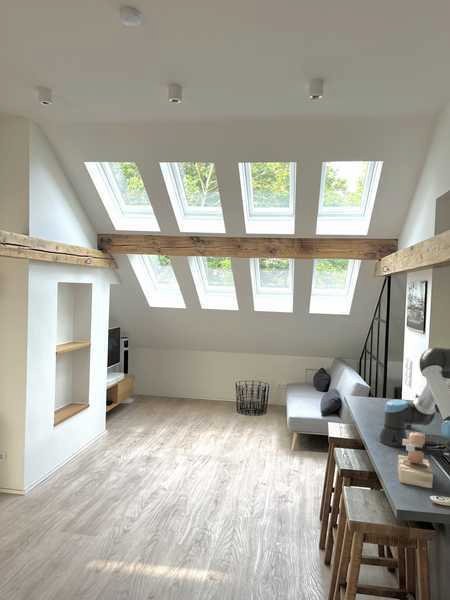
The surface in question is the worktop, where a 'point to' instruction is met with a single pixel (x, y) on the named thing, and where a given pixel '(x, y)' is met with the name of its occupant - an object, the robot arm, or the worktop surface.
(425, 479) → the plinth
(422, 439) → the slanted peach cylinder
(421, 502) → the worktop surface
